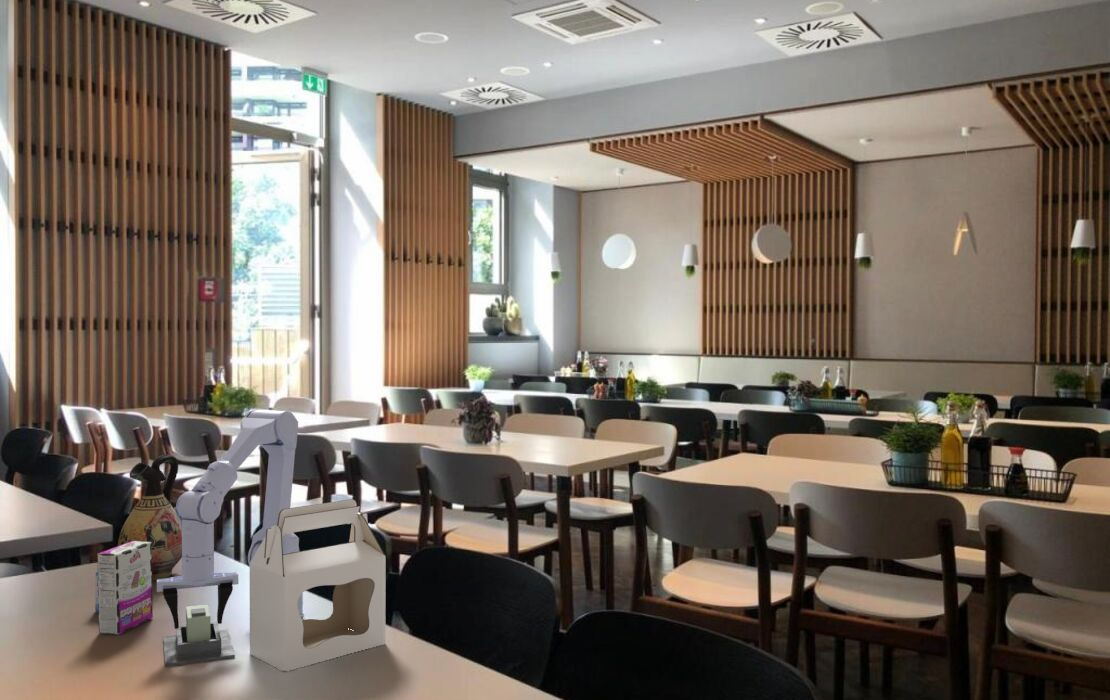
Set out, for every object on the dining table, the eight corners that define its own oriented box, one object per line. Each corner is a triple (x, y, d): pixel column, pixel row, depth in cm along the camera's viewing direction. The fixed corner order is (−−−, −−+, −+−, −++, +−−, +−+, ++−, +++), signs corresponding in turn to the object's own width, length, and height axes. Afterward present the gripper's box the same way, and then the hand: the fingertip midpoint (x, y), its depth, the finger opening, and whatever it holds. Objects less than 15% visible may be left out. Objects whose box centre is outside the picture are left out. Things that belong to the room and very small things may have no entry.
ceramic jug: (142, 588, 220) (142, 461, 219) (104, 578, 229) (104, 456, 228) (204, 572, 234) (204, 453, 234) (167, 564, 243) (166, 449, 242)
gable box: (282, 673, 167) (282, 517, 166) (248, 654, 176) (247, 506, 176) (387, 644, 183) (387, 501, 182) (350, 628, 192) (350, 492, 191)
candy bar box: (132, 617, 198) (132, 540, 198) (153, 618, 197) (153, 541, 197) (96, 634, 188) (96, 552, 187) (118, 635, 187) (118, 554, 186)
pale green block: (207, 629, 184) (207, 601, 184) (210, 642, 177) (210, 612, 177) (186, 632, 183) (186, 603, 183) (187, 644, 175) (187, 615, 175)
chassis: (227, 632, 189) (227, 617, 189) (234, 657, 174) (234, 641, 174) (163, 639, 184) (163, 624, 184) (165, 666, 170) (165, 650, 170)
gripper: (157, 562, 172) (157, 635, 173) (239, 555, 178) (239, 626, 179) (156, 553, 179) (156, 624, 179) (236, 547, 185) (236, 615, 185)
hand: (198, 624), depth 179 cm, fingers open, 7 cm apart
